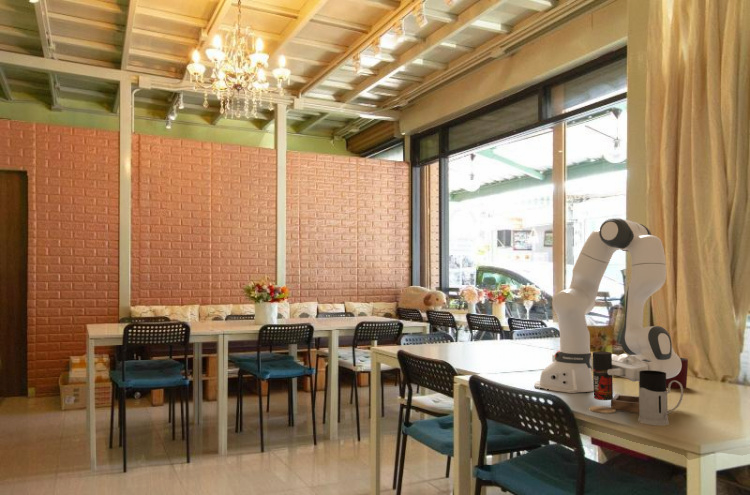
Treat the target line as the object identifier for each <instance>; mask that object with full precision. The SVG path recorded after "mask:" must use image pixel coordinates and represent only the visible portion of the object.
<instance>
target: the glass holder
mask: <svg viewBox="0 0 750 495" xmlns="http://www.w3.org/2000/svg"><path fill="white" fill-rule="evenodd" d="M672 382H677V383H678V384H679V385H680V387H681V389H680V397H679V399H678V400H679V401H678V402H677V404H676V405H675V406H674V407H673V408H672V409H670V410H669V411H668V394H670V393H671V388H670V387H671V384H672ZM638 396H639V413H638V415H639V416H638V419H637V422H640V423H641V424H644V423H645V425H650V426H668V425H670V421H669V418H668V415H669V414H671V413H672V412H673V411H674V410H676V409H677V408H678V407H679V406H680V404H681V403H682V400H683V397H684V388H683V387H682V384H681V383H680V382H678V381H671V382H670V383H669V385H668V387H666V373H665V372H661V371H652V370H643V371H639V381H638Z"/></svg>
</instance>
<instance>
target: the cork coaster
mask: <svg viewBox="0 0 750 495" xmlns="http://www.w3.org/2000/svg"><path fill="white" fill-rule="evenodd" d="M589 411H591V412H593V413H598V414H614V413H616V410H615V408H611V406H607V405H590V406H589Z"/></svg>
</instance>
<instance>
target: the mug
mask: <svg viewBox="0 0 750 495" xmlns="http://www.w3.org/2000/svg"><path fill="white" fill-rule="evenodd" d="M679 358H680V359H681V363H682V368H681V371H680V372H679V374H678V375H676V376H675V377H672V378H669V379H666V388H668V385H669V383H670V382H671V381H678V382H680V383H681V384H682V387H683V389H686V388H687V384H688V382H687V381H688V370H689V369H688V367H689V364H688V363H689V361H688V360H689V359H688V358H685V357H679ZM678 388H679V389H680V390H681V387H680V385H679V384H678V383H677V382H672V384H671V387H670V389H678Z"/></svg>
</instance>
